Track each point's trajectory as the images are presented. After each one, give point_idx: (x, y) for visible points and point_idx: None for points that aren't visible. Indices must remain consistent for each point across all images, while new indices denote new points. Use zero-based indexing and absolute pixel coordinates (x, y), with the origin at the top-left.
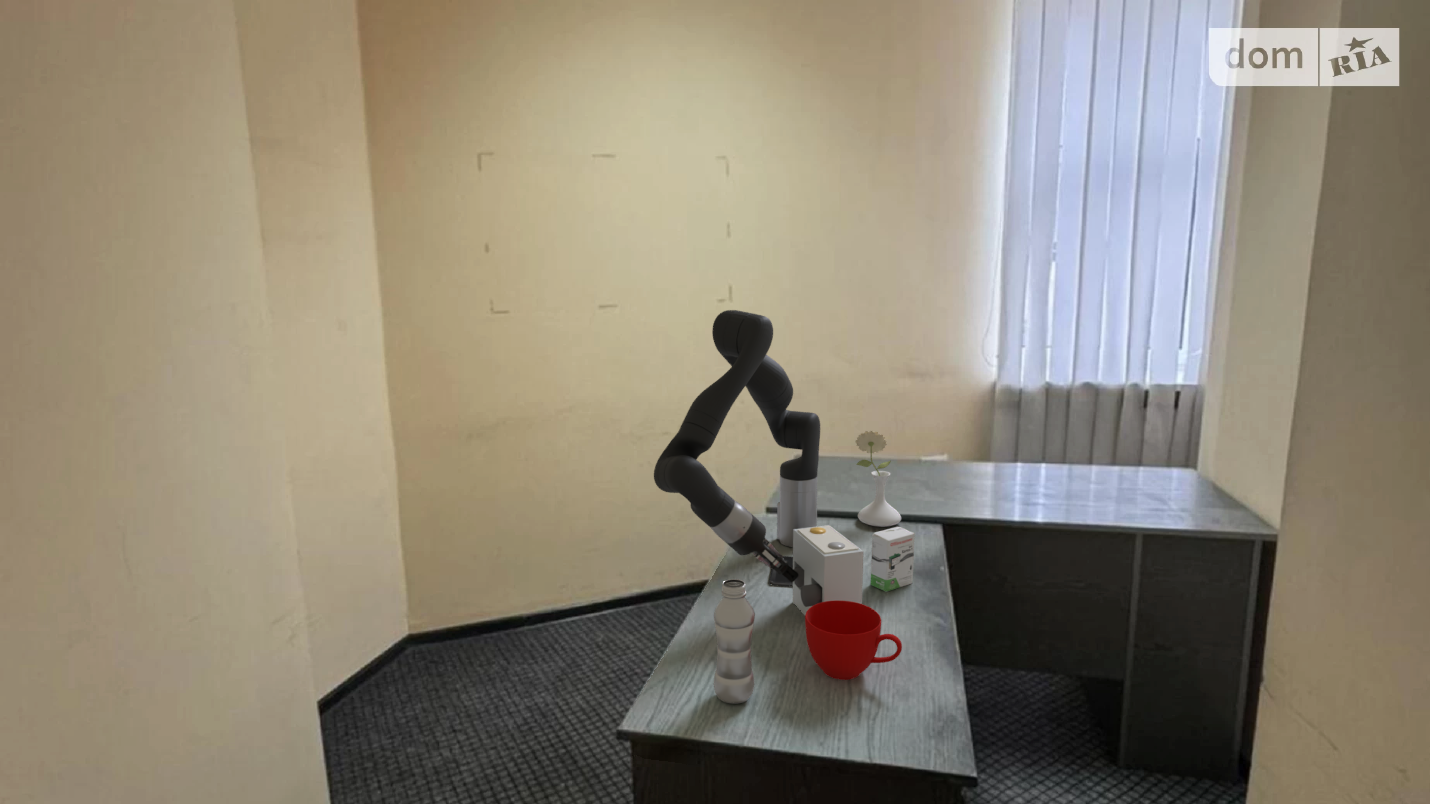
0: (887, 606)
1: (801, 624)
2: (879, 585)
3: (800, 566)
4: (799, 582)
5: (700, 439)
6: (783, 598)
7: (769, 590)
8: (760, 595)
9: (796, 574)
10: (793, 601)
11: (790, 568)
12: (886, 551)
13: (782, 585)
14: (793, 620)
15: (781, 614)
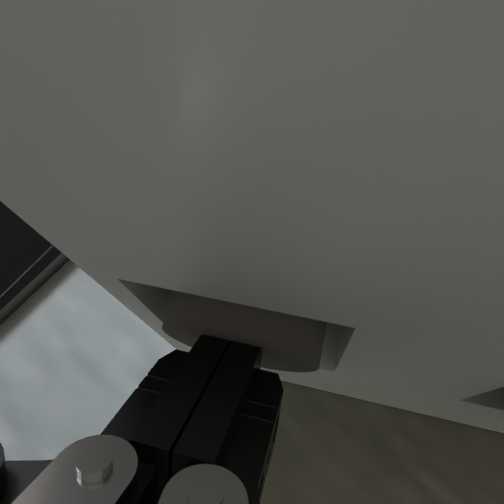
0: None
1: (416, 473)
2: None
3: (260, 307)
4: (288, 365)
5: None
6: (126, 370)
7: (17, 378)
8: (23, 457)
9: (255, 364)
10: None
11: (233, 423)
12: None
13: (27, 296)
14: (356, 483)
15: (263, 498)
